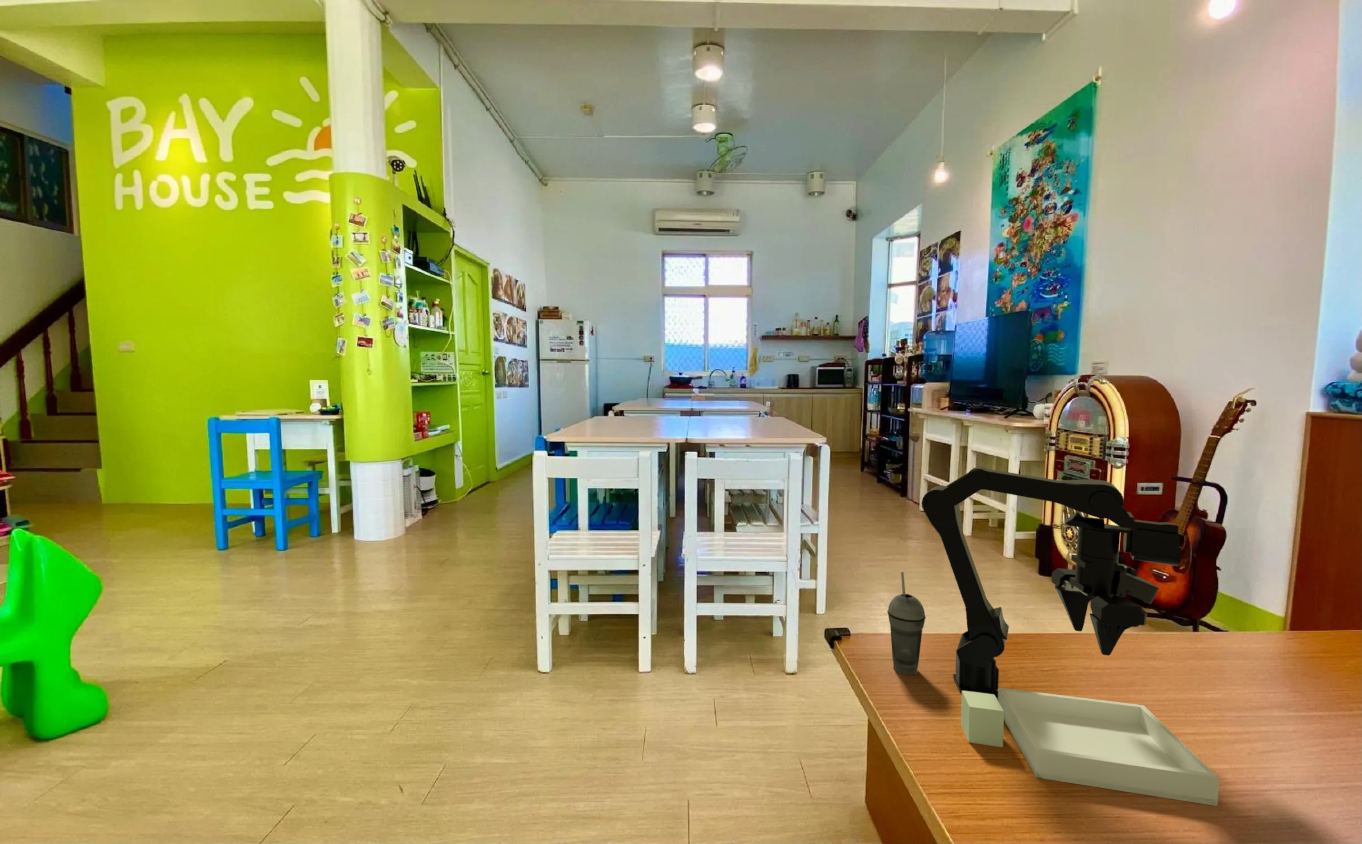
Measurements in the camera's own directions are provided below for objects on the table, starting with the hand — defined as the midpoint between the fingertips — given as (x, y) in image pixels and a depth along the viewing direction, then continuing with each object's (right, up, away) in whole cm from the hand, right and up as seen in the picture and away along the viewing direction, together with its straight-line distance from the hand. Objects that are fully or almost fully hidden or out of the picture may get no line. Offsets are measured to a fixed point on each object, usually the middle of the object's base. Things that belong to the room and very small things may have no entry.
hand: (1091, 642), depth 94 cm
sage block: (-22, -14, -4) cm, 26 cm away
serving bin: (-6, -14, -8) cm, 17 cm away
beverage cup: (-25, -13, +17) cm, 33 cm away
